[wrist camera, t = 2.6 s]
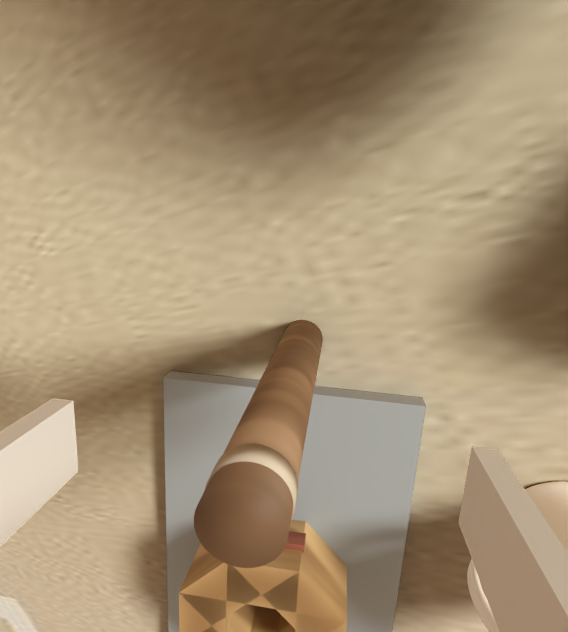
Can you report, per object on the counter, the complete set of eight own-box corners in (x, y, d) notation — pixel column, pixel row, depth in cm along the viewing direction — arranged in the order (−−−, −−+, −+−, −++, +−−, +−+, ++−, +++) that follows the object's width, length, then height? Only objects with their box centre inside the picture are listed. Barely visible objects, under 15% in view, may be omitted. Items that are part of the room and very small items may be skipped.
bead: (201, 501, 28) (178, 546, 24) (351, 522, 27) (352, 574, 23) (200, 627, 31) (179, 686, 27) (337, 652, 30) (336, 717, 26)
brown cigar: (283, 317, 26) (191, 477, 10) (324, 320, 25) (293, 490, 10) (281, 356, 26) (192, 561, 11) (321, 360, 26) (287, 577, 11)
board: (170, 370, 28) (163, 377, 26) (422, 397, 26) (425, 406, 24) (174, 652, 34) (169, 668, 32) (379, 691, 32) (380, 709, 30)
